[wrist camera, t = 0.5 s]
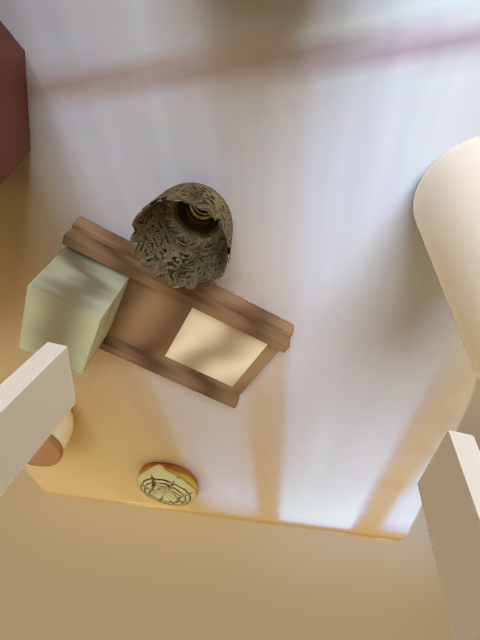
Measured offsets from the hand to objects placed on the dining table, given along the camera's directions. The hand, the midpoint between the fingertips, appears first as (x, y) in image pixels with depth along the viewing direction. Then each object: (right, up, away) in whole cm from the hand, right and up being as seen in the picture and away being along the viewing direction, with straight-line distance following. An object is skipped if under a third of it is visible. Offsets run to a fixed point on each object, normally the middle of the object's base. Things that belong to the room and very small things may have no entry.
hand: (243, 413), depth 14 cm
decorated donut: (-12, -24, +56) cm, 62 cm away
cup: (-3, +14, +21) cm, 25 cm away
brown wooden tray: (-8, +4, +30) cm, 32 cm away
